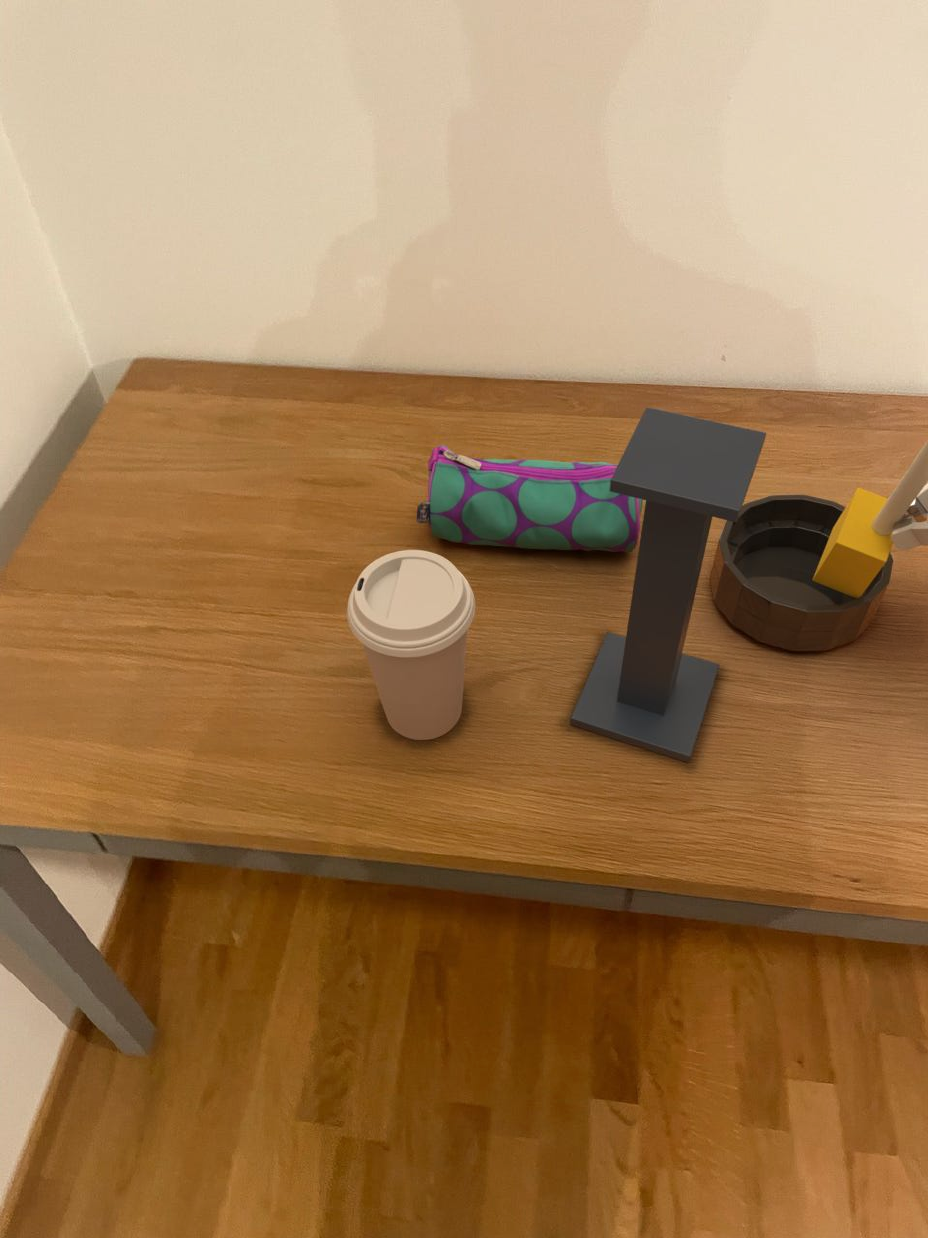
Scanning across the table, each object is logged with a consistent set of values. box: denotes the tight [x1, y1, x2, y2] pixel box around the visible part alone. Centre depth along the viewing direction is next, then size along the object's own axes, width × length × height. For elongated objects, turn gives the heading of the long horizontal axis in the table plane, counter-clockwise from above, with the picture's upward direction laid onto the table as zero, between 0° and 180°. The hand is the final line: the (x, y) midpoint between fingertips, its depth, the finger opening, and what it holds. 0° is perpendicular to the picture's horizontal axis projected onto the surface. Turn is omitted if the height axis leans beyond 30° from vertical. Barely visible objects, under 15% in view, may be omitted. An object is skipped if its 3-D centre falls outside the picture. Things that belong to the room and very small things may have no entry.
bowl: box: [709, 493, 894, 652], centre depth 83 cm, size 14×14×6 cm
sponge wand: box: [813, 439, 928, 599], centre depth 70 cm, size 19×6×4 cm
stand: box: [569, 406, 767, 764], centre depth 68 cm, size 10×10×26 cm
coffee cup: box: [346, 549, 476, 741], centre depth 73 cm, size 10×10×15 cm
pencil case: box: [416, 444, 644, 553], centre depth 88 cm, size 21×9×10 cm, turn 82°
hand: (897, 525), depth 72 cm, fingers closed on sponge wand
